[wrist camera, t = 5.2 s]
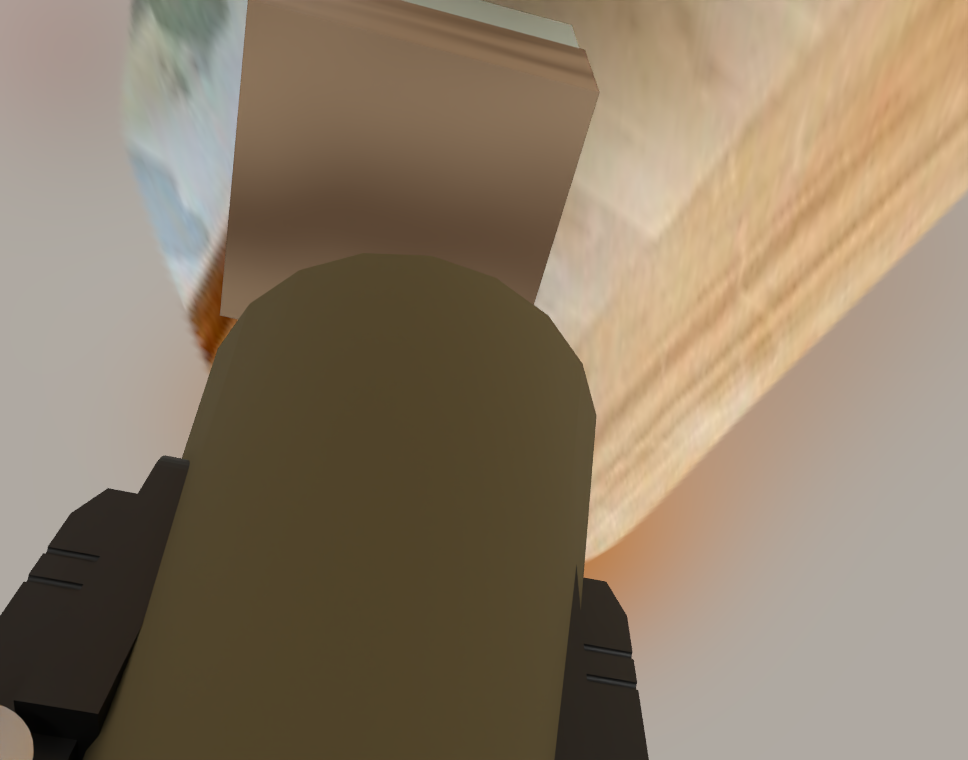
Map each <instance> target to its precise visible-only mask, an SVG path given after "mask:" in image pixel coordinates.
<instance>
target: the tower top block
mask: <svg viewBox="0 0 968 760" xmlns="http://www.w3.org/2000/svg"><path fill="white" fill-rule="evenodd" d="M598 96H599V90H598V87H597V84H596V81H595V78H594V75H593V72H592V69H591V66H590V63H589V60H588V57H587V54H586V51H585V50H584V49H580V48H576V47H573V46H569V45H565V44H562V43H558V42H554V41H550V40H547V39H543V38H539V37H536V36H532V35H528V34H524V33H521V32H517V31H513V30H510V29H506V28H502V27H499V26H495V25H491V24H487V23H484V22H480V21H476V20H473V19H469V18H465V17H461V16H458V15H454V14H450V13H447V12H443V11H439V10H436V9H432V8H428V7H424V6H421V5H417V4H413V3H410V2H406V1H402V0H248V5H247V17H246V28H245V39H244V51H243V62H242V73H241V85H240V96H239V107H238V118H237V130H236V141H235V152H234V164H233V175H232V186H231V197H230V209H229V220H228V231H227V243H226V254H225V265H224V276H223V288H222V299H221V310H220V315H221V316H225V317H230V318H234V319H239V318H240V317H241V315H242V314H243V312H244V311H245V309H246V308H247V307H248V305H249V304H250V303H251V302H253V301H254V300H256V299H257V298H259V297H260V296H262V295H263V294H265V293H266V292H268V291H269V290H271V289H272V288H274V287H275V286H277V285H278V284H280V283H281V282H283V281H284V280H285V279H287V278H288V277H290V276H291V275H293V274H294V273H296V272H297V271H299V270H302V269H305V268H309V267H313V266H316V265H320V264H324V263H328V262H331V261H335V260H339V259H342V258H346V257H350V256H354V255H357V254H361V253H375V254H400V255H426V256H434V257H437V258H440V259H443V260H445V261H448V262H451V263H454V264H457V265H460V266H463V267H466V268H469V269H472V270H475V271H478V272H481V273H483V274H486V275H489V276H492V277H495V278H497V279H498V280H500V281H501V282H503V283H504V284H505V285H507V286H508V287H509V288H511V289H512V290H514V291H515V292H516V293H518V294H519V295H520V296H522V297H523V298H525V299H526V300H527V301H529V302H530V303H531V304H533V305H534V302H535V299H536V296H537V292H538V289H539V286H540V283H541V280H542V276H543V273H544V270H545V267H546V263H547V260H548V257H549V254H550V250H551V247H552V244H553V241H554V238H555V234H556V231H557V228H558V225H559V221H560V218H561V215H562V212H563V209H564V205H565V202H566V199H567V196H568V192H569V189H570V186H571V183H572V180H573V176H574V173H575V170H576V167H577V163H578V160H579V157H580V154H581V150H582V147H583V144H584V141H585V138H586V134H587V131H588V128H589V125H590V121H591V118H592V115H593V112H594V109H595V105H596V102H597V99H598Z"/></svg>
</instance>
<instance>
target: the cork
mask: <svg viewBox="0 0 968 760" xmlns="http://www.w3.org/2000/svg"><path fill="white" fill-rule="evenodd" d="M595 426H596V413H595V409H594V405H593V401H592V398H591V394H590V390H589V386H588V383H587V379H586V375H585V371H584V368H583V364H582V362H581V361H580V360H579V358H578V357H577V355H576V354H575V353H574V351H573V350H572V348H571V347H570V346H569V344H568V343H567V341H566V340H565V339H564V337H563V336H562V334H561V333H560V332H559V330H558V329H557V327H556V326H555V325H554V323H553V322H552V320H551V319H550V317H549V316H548V315H547V314H545V313H544V312H542V311H541V310H540V309H538V308H537V307H536V306H534V305H533V304H531V303H530V302H529V301H527V300H526V299H525V298H523V297H522V296H520V295H519V294H518V293H516V292H515V291H514V290H512V289H511V288H509V287H508V286H507V285H505V284H504V283H503V282H501V281H500V280H498V279H497V278H495V277H492V276H489V275H486V274H483V273H481V272H478V271H475V270H472V269H469V268H466V267H463V266H460V265H457V264H454V263H451V262H448V261H445V260H443V259H440V258H437V257H434V256H426V255H400V254H375V253H361V254H357V255H354V256H350V257H346V258H342V259H339V260H335V261H331V262H328V263H324V264H320V265H316V266H313V267H309V268H305V269H302V270H299V271H297V272H296V273H294V274H293V275H291V276H290V277H288V278H287V279H285V280H284V281H283V282H281V283H280V284H278V285H277V286H275V287H274V288H272V289H271V290H269V291H268V292H266V293H265V294H263V295H262V296H260V297H259V298H257V299H256V300H254V301H253V302H251V303H250V304H249V305H248V307H247V308H246V309H245V311H244V312H243V314H242V315H241V317H240V318H239V319H238V321H237V322H236V324H235V325H234V327H233V328H232V329H231V331H230V332H229V334H228V335H227V337H226V338H225V340H224V341H223V342H222V344H221V345H220V347H219V348H218V350H217V353H216V356H215V359H214V362H213V365H212V368H211V371H210V374H209V377H208V380H207V384H206V387H205V390H204V393H203V396H202V399H201V402H200V405H199V408H198V411H197V414H196V417H195V420H194V423H193V426H192V429H191V432H190V435H189V438H188V442H187V444H186V447H185V450H184V453H183V457H182V459H186V460H189V462H190V464H189V469H188V473H187V476H186V480H185V483H184V486H183V490H182V493H181V496H180V500H179V503H178V507H177V510H176V513H175V517H174V520H173V523H172V527H171V530H170V533H169V537H168V540H167V544H166V547H165V550H164V554H163V557H162V560H161V564H160V567H159V571H158V574H157V577H156V581H155V584H154V587H153V591H152V594H151V597H150V601H149V604H148V608H147V611H146V614H145V618H144V621H143V624H142V627H141V629H140V632H139V634H138V637H137V639H136V642H135V644H134V647H133V650H132V652H131V655H130V657H129V660H128V662H127V665H126V667H125V670H124V673H123V675H122V678H121V680H120V683H119V685H118V688H117V690H116V693H115V696H114V698H113V701H112V703H111V706H110V708H109V711H108V713H107V716H106V719H105V721H104V724H103V726H102V729H101V731H100V734H99V736H98V737H97V738H96V740H95V741H94V742H93V743H92V744H91V745H90V747H89V748H88V749H87V750H86V751H85V754H84V757H83V760H554V759H555V750H556V741H557V732H558V723H559V714H560V706H561V697H562V688H563V679H564V670H565V661H566V653H567V644H568V635H569V626H570V617H571V608H572V600H573V591H574V582H575V573H576V564H577V575H578V586H579V597H580V608H581V600H582V587H583V574H584V563H585V550H586V538H587V525H588V513H589V501H590V488H591V476H592V463H593V451H594V438H595Z"/></svg>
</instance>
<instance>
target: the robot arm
mask: <svg viewBox="0 0 968 760" xmlns="http://www.w3.org/2000/svg"><path fill="white" fill-rule="evenodd" d="M189 464H190V462H189V460H186V459H181V458H176V457H170V456H162V457H161V458H160V459H159V460H158V462H157V463H156V464H155V466H154V468H153V469H152V471H151V473H150V475H149V476H148V478H147V479H146V481H145V483H144V484H143V486H142V488H141V489H140V491H139V493H138V494H136V493H130V492H125V491H120V490H114V489H109V488H108V489H106V490H105V491H103V492H102V493H101V494H99V495H97V496H96V497H94V498H93V499H91V500H90V501H88V502H87V503H86V504H84V505H83V506H81V507H80V508H78V509H77V510H75V511H74V512H72V513H71V514H70V515H69V517H68V518H67V520H66V521H65V523H64V524H63V525H62V527H61V528H60V530H59V531H58V533H57V534H56V536H55V537H54V539H53V540H52V541H51V543H50V545H49V546H48V550H47V552H46V554H43V555H42V556H41V557H40V559H39V560H38V562H37V563H36V565H35V566H34V567H33V569H32V570H31V572H30V573H29V577H28V580H27V582H23V584H22V585H21V586H20V588H19V589H18V591H17V592H16V594H15V595H14V597H13V598H12V599H11V601H10V602H9V604H8V605H7V607H6V608H5V610H4V611H3V612H2V614H1V615H0V760H83V757H84V754H85V751H86V750H87V749H88V748H89V747H90V745H91V744H92V743H93V742H94V741H95V740H96V738H97V737H98V736H99V734H100V731H101V729H102V726H103V724H104V721H105V719H106V716H107V713H108V711H109V708H110V706H111V703H112V701H113V698H114V696H115V693H116V690H117V688H118V685H119V683H120V680H121V678H122V675H123V673H124V670H125V667H126V665H127V662H128V660H129V657H130V655H131V652H132V650H133V647H134V644H135V642H136V639H137V637H138V634H139V632H140V629H141V627H142V624H143V621H144V618H145V614H146V611H147V608H148V604H149V601H150V597H151V594H152V591H153V587H154V584H155V581H156V577H157V574H158V571H159V567H160V564H161V560H162V557H163V554H164V550H165V547H166V544H167V540H168V537H169V533H170V530H171V527H172V523H173V520H174V517H175V513H176V510H177V507H178V503H179V500H180V496H181V493H182V490H183V486H184V483H185V480H186V476H187V473H188V469H189ZM631 656H632V646H631V640H630V633H629V627H628V620H627V615H626V614H625V612H624V610H623V609H622V607H621V605H620V604H619V602H618V600H617V599H616V597H615V595H614V594H613V592H612V591H611V589H610V587H609V586H608V584H607V582H605V581H599V580H594V579H588V578H583V587H582V600H581V608H580V597H579V586H578V575H577V564H576V573H575V582H574V591H573V600H572V608H571V617H570V626H569V635H568V644H567V653H566V661H565V670H564V679H563V688H562V697H561V706H560V714H559V723H558V732H557V741H556V750H555V759H554V760H649V759H648V753H647V745H646V738H645V732H644V725H643V719H642V713H641V706H640V699H639V693H638V690H636V684H637V680H636V673H635V666H634V660H633V659H632V658H631Z"/></svg>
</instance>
